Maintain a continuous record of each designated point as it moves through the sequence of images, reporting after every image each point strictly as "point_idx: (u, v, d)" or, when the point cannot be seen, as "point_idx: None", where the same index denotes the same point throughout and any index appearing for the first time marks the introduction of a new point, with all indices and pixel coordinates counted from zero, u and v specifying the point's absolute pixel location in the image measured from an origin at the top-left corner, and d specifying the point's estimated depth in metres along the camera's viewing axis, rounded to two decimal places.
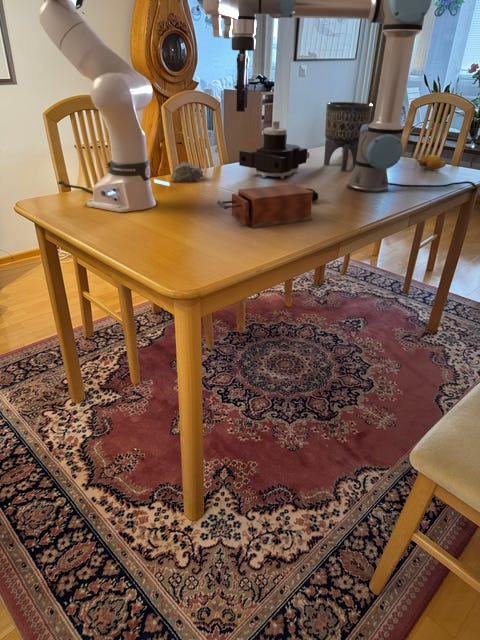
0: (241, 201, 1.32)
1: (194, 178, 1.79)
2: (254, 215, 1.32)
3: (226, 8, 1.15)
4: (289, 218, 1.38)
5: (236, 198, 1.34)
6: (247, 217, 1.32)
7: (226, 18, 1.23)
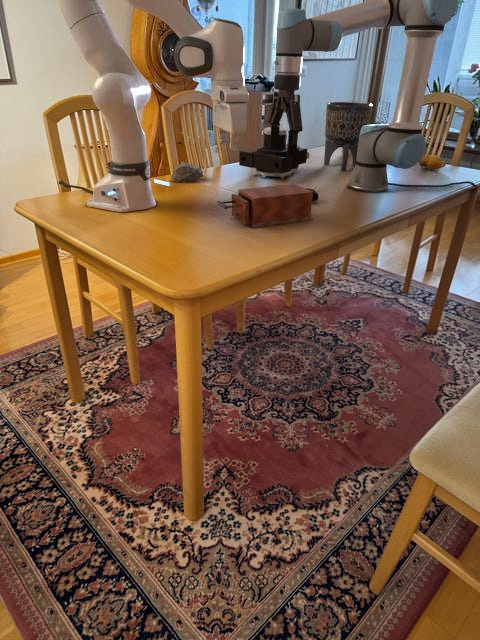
0: (241, 201, 1.32)
1: (194, 178, 1.79)
2: (254, 215, 1.32)
3: None
4: (289, 218, 1.38)
5: (236, 198, 1.34)
6: (247, 217, 1.32)
7: None
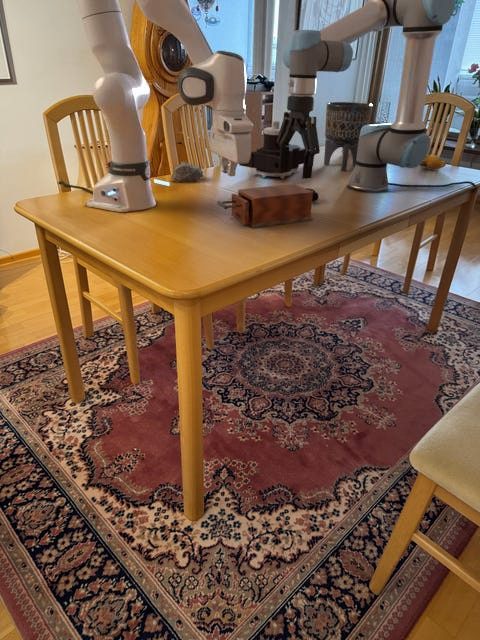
0: (241, 201, 1.32)
1: (194, 178, 1.79)
2: (254, 215, 1.32)
3: None
4: (289, 218, 1.38)
5: (236, 198, 1.34)
6: (247, 217, 1.32)
7: None
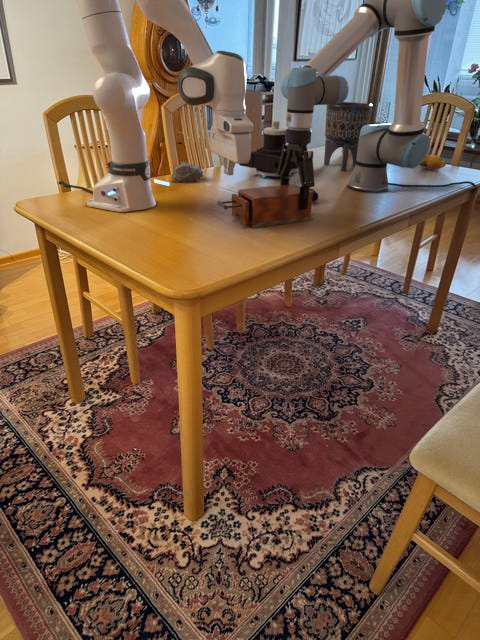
0: (241, 201, 1.32)
1: (194, 178, 1.79)
2: (254, 215, 1.32)
3: None
4: (289, 218, 1.38)
5: (236, 198, 1.34)
6: (247, 217, 1.32)
7: None
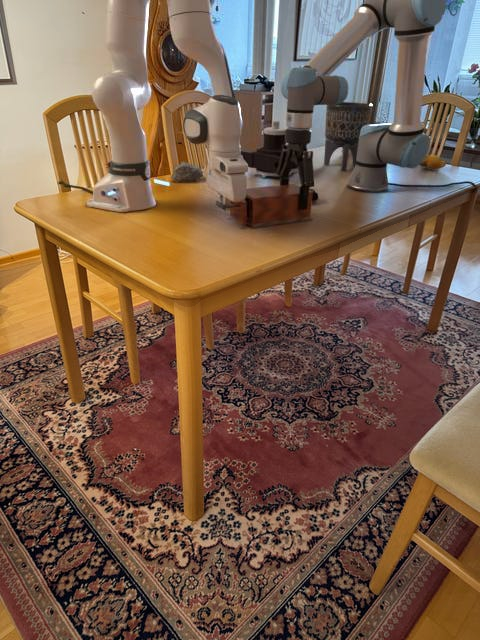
0: None
1: (194, 178, 1.79)
2: (254, 215, 1.32)
3: None
4: (289, 218, 1.38)
5: None
6: (245, 217, 1.32)
7: None
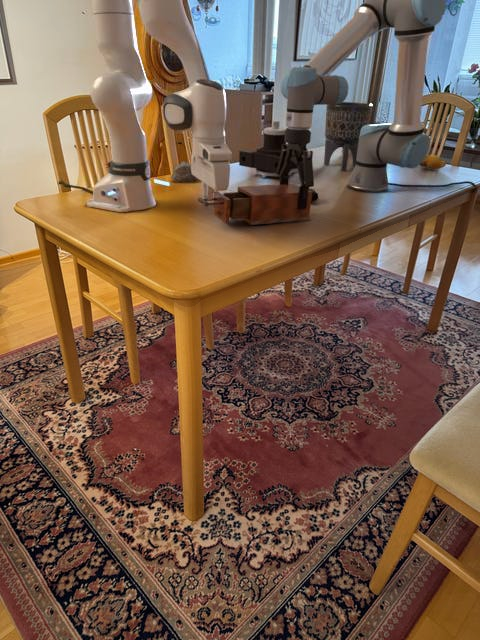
0: (223, 199, 1.29)
1: (194, 178, 1.79)
2: (253, 212, 1.31)
3: None
4: (288, 217, 1.37)
5: (218, 196, 1.31)
6: (228, 215, 1.29)
7: None
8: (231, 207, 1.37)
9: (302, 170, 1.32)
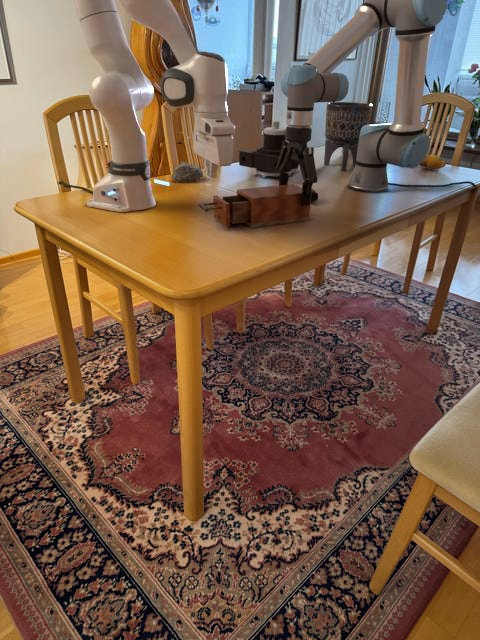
0: (222, 203, 1.29)
1: (194, 178, 1.79)
2: (252, 215, 1.32)
3: None
4: (288, 218, 1.37)
5: (217, 200, 1.32)
6: (228, 219, 1.30)
7: None
8: (231, 210, 1.38)
9: (304, 167, 1.32)
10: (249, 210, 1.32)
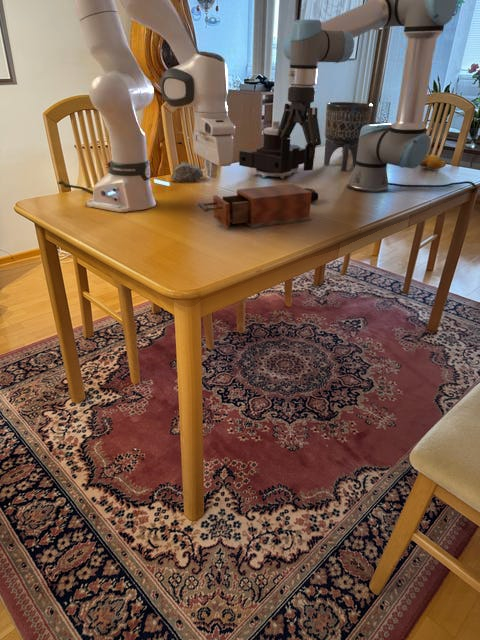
0: (222, 203, 1.29)
1: (194, 178, 1.79)
2: (252, 215, 1.32)
3: None
4: (288, 218, 1.37)
5: (217, 200, 1.32)
6: (228, 219, 1.30)
7: None
8: (231, 210, 1.38)
9: (307, 129, 1.26)
10: (249, 210, 1.32)
